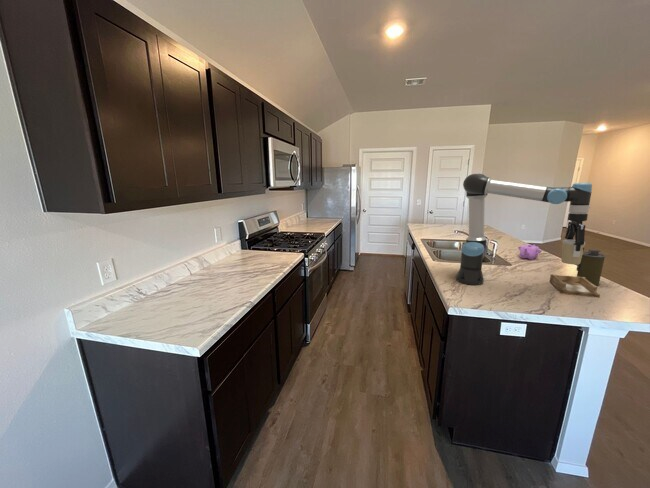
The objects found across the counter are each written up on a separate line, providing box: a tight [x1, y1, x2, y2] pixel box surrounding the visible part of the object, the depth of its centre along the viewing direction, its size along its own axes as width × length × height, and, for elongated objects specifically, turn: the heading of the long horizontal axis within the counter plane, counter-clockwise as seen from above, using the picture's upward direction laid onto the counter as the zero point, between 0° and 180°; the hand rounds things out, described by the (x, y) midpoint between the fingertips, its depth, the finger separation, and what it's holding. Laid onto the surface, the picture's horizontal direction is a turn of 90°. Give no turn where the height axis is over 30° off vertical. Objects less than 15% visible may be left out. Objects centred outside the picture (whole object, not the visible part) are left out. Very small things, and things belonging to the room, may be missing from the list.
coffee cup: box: [561, 239, 586, 266], centre depth 149 cm, size 9×9×12 cm
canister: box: [576, 248, 606, 287], centre depth 162 cm, size 11×10×20 cm
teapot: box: [517, 244, 542, 261], centre depth 213 cm, size 15×13×11 cm
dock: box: [548, 274, 601, 298], centre depth 154 cm, size 16×18×5 cm
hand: (571, 254), depth 149 cm, fingers closed on coffee cup, 9 cm apart
